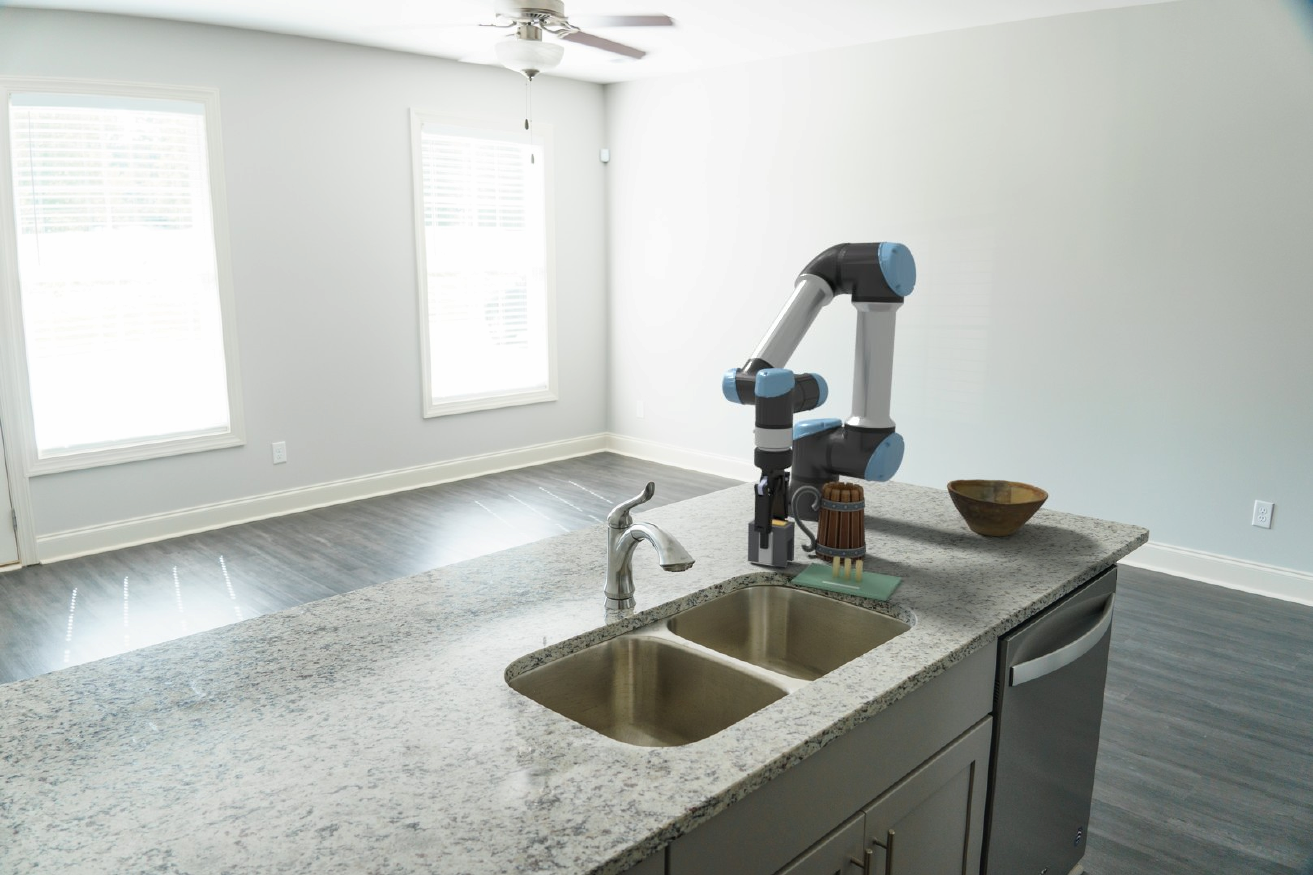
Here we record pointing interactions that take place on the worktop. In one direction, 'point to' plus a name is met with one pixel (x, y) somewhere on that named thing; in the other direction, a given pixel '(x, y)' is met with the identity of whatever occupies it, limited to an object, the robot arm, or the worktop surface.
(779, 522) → the grey slotted block
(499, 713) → the worktop surface
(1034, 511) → the bowl
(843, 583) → the board
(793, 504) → the mug
